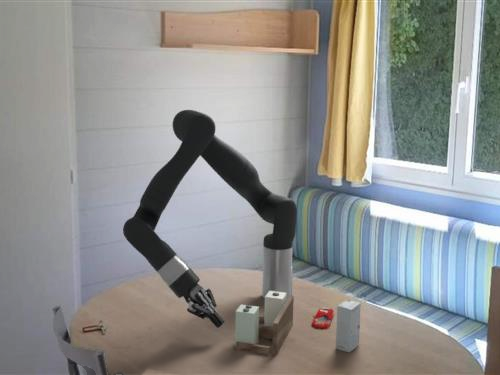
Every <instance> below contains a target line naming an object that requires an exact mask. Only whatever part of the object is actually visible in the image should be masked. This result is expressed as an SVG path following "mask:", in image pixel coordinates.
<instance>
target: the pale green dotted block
mask: <svg viewBox="0 0 500 375" xmlns="http://www.w3.org/2000/svg"><path fill="white" fill-rule="evenodd" d="M259 315H260V306H256V305H250V304H240V305H239V306H238V307H237V309H235V330H234V331H235V334H234V335H235V336H234V339H235V340H234V345H235V346H234V347H235V348H236V342H242V343H249V344H256V345H258V344H259V339H260V337H259V325H260V322H259Z"/></svg>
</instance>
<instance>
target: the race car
mask: <svg viewBox="0 0 500 375" xmlns="http://www.w3.org/2000/svg"><path fill="white" fill-rule="evenodd" d="M334 316H335V312H334V309H333V308H331V307H330V308H329V307H320V308H318V310H317V312H316V314H315V315H313V316H312V318H313V320H312V322H311V325H310V326H311V327H312V328H313V329H317V330H328V329H329V328H330V326H331V324H332V321H333V319H334Z"/></svg>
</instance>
